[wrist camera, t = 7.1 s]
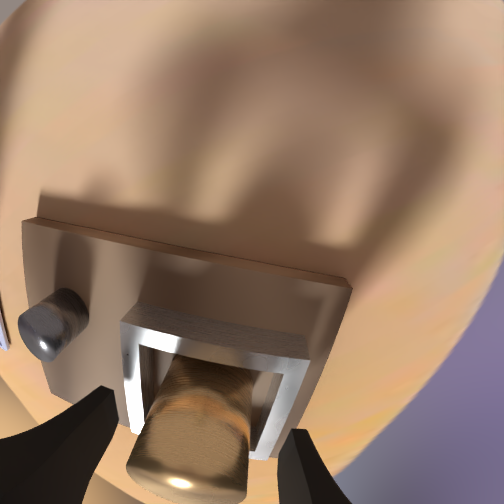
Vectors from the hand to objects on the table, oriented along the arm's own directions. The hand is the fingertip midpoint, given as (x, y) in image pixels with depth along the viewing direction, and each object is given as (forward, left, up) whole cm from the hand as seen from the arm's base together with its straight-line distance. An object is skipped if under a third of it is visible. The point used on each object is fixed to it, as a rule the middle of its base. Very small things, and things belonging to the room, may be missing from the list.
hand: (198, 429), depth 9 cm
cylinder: (0, 0, -3) cm, 3 cm away
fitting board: (-3, 0, -4) cm, 5 cm away
